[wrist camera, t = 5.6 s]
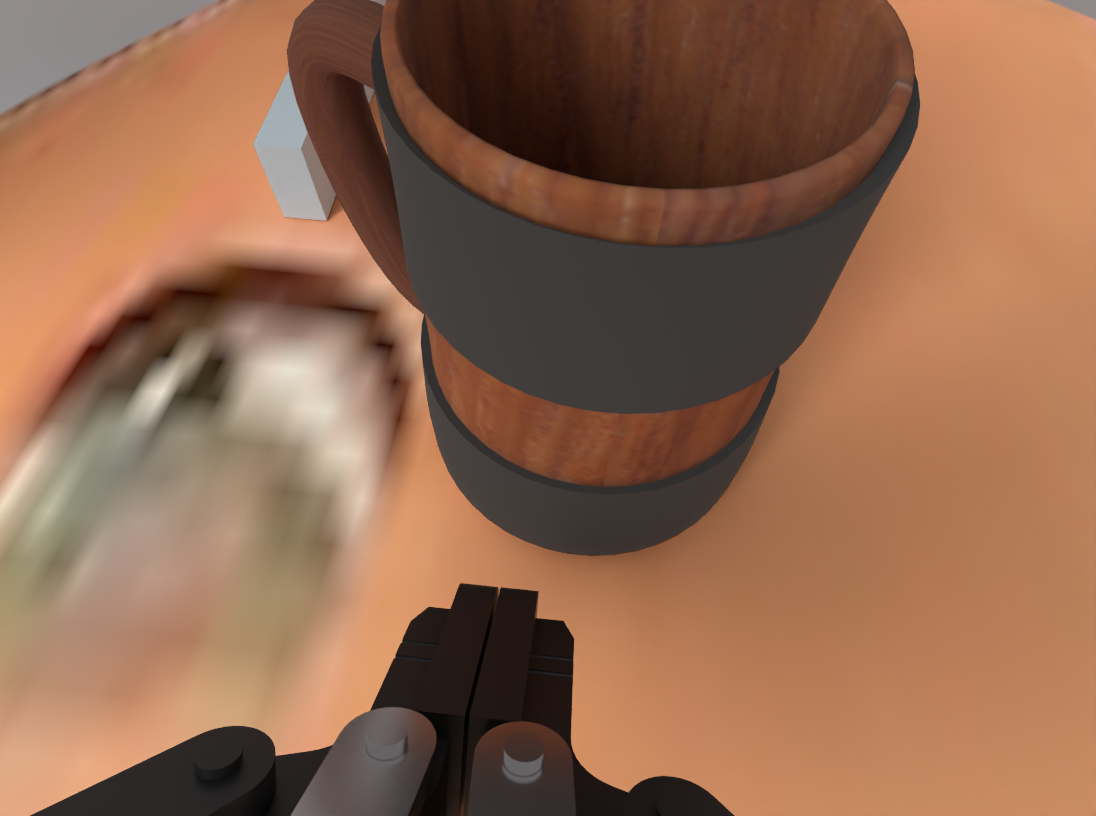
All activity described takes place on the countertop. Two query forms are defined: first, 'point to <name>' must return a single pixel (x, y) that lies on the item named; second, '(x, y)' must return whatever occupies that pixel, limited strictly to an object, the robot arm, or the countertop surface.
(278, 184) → the dock bay
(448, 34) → the mug
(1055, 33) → the countertop surface
